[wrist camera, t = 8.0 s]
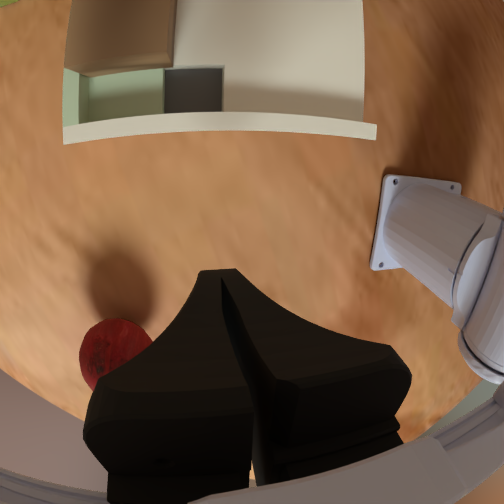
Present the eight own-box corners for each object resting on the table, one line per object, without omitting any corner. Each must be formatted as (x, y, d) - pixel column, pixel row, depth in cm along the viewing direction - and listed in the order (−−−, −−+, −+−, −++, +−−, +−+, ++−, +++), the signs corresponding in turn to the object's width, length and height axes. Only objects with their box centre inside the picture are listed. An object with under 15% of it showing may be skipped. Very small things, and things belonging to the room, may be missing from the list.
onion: (81, 302, 20) (49, 376, 13) (149, 293, 21) (135, 371, 14) (106, 357, 23) (91, 431, 16) (168, 350, 24) (167, 429, 16)
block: (178, -5, 12) (174, -34, 8) (173, 67, 14) (166, 51, 10) (97, 6, 11) (76, -18, 8) (90, 77, 13) (63, 67, 10)
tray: (350, -20, 14) (371, -35, 11) (351, 136, 19) (375, 140, 16) (96, -29, 11) (84, -49, 8) (82, 140, 16) (63, 144, 13)
